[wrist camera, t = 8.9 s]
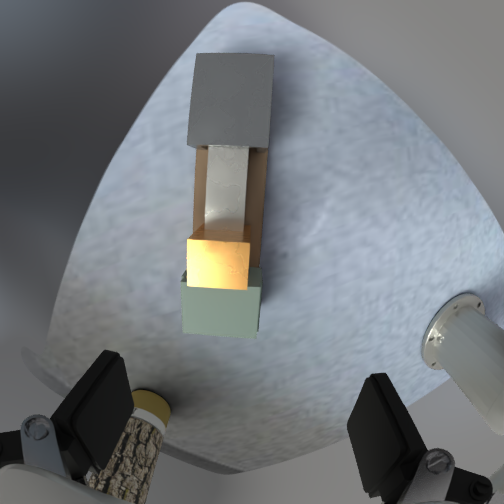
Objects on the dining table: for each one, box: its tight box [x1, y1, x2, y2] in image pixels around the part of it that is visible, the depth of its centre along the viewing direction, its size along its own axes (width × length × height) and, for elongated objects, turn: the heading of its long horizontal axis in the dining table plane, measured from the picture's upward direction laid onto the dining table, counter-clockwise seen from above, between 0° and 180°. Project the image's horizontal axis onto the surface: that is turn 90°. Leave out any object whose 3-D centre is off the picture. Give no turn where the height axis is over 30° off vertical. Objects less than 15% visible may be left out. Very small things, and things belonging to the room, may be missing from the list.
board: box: [193, 146, 268, 275], centre depth 26 cm, size 7×24×1 cm, turn 176°
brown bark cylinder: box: [88, 390, 171, 504], centre depth 22 cm, size 7×7×25 cm
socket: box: [181, 267, 263, 339], centre depth 26 cm, size 7×5×5 cm
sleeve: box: [187, 53, 274, 153], centre depth 21 cm, size 6×8×5 cm
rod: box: [187, 146, 251, 290], centre depth 23 cm, size 4×15×7 cm, turn 176°
